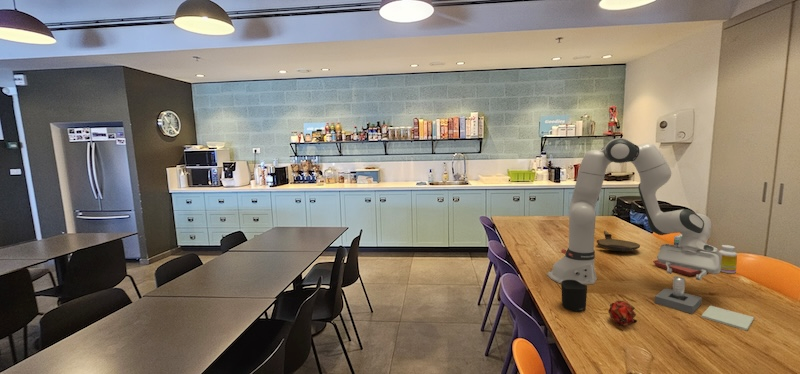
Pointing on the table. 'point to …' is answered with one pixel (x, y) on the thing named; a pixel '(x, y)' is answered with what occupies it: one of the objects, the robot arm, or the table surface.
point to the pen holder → (573, 295)
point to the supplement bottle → (728, 259)
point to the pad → (728, 317)
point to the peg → (678, 288)
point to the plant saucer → (678, 269)
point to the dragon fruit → (622, 313)
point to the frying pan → (616, 244)
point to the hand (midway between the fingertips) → (683, 276)
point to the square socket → (678, 301)
